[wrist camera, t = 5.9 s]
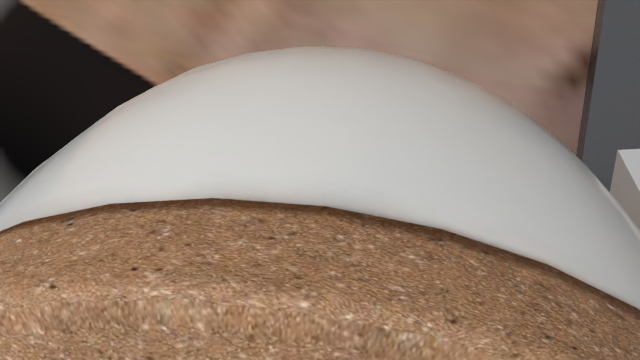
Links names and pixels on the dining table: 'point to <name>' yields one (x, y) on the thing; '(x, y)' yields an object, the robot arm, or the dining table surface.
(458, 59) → the dining table surface
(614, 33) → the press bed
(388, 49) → the dining table surface
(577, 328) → the lidded jar
